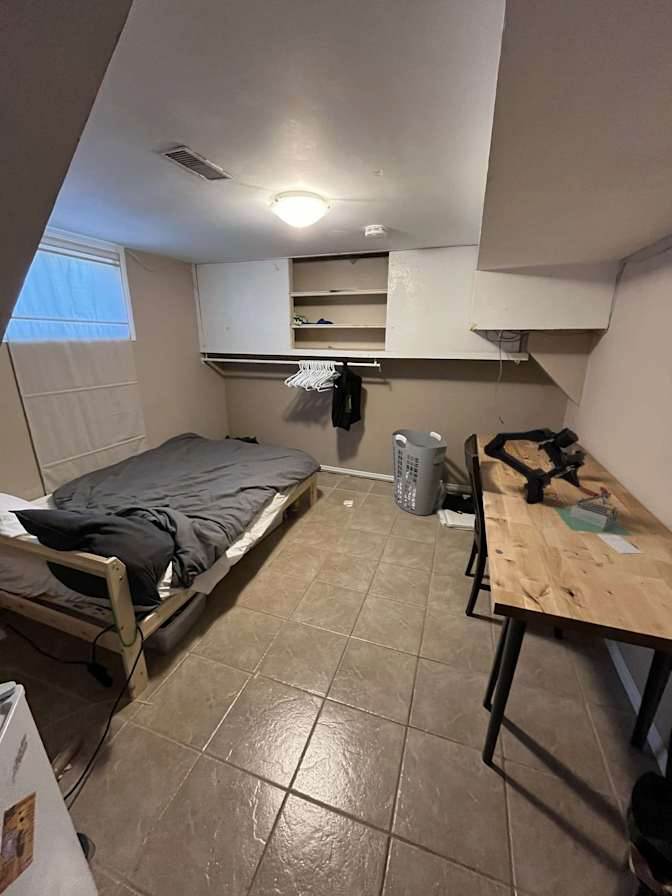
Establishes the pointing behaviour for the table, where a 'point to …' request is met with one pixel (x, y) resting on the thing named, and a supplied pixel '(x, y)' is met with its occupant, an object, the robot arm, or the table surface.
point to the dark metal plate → (595, 497)
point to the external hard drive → (620, 544)
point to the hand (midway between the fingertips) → (579, 487)
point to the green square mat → (578, 526)
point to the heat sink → (594, 515)
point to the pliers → (595, 493)
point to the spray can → (568, 450)
